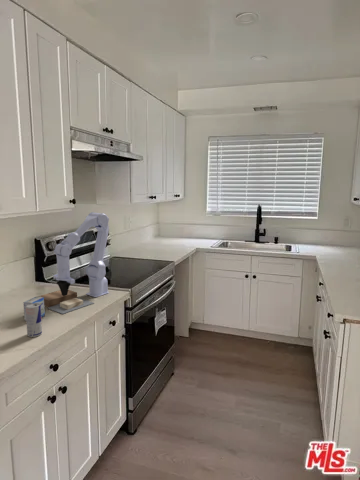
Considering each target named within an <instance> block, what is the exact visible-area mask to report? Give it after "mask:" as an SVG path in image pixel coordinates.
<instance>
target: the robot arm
mask: <svg viewBox="0 0 360 480" xmlns="http://www.w3.org/2000/svg"><path fill="white" fill-rule="evenodd" d="M109 220H110V218H109V216H108V215H107V214H106V213H104V212H102V213H101V212H94V211H92V212H90V213H89V214H88V215H87V216H85V219H84V221H83V222H82V223H81V224H80V225H79V227H77V229H76V230H75V231H74V232H70V233H68V234H67V237H66V238H64V239H63V240H62V241H61V242H60V243H57V244H56V245H55V247H54V249H53V253H54V255H56V269H57V272H56V273H57V274H53V276H52V277H53V279H54V280H56V284H57V286H58V287H59V290H61V294H62V295H63V296H65V295H67V293H68V290H70V286H71V285H73V284H75V283H76V279H75V278H73V277H71V271H70V270H71V269H70V265H71V264H70V255H72V250H74V249H73V248H74V247H75V246H77V244H78V243H79V242H81V237H82V236H83V235H84V234H85V233H86V232H87V231H88V230H89V229H90V228H92V227H94V228H95V229H96V230H97V234H96V239H95V244H94V250H93V256H92V260H90V261H89V262H88V265H87V267H86V269H85V274H86V275H87V276H88V281H89V283H88V284H89V285H88V286H89V292H87V293H85V294H86V295H87V296H90V297H93V298H98V297H101V296H103V295H104V296H105V295H107V294H109V293H110V292H109V285H108V279H107V278H106V277H105V276H106V275H107V274H106V272H107V271H106V264H105V262H104V257H105V252H106V247H107V241H108V237H109V231H110V228H109V227H110V226H109Z"/></svg>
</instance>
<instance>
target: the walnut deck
mask: <svg viewBox="0 0 360 480" xmlns="http://www.w3.org/2000/svg"><path fill="white" fill-rule="evenodd" d="M36 297H43V298H44V307H46V308H48V307H51V306H54V305H57V304H60V302H64V301H67V300H70V299H73V298H78V291H74V290H72V289H68V293H67V295H65V296H63V295H62V294H61V290H60V289H59V290H56V291H52V292H48V293H44V294H42V295H38V296H36Z"/></svg>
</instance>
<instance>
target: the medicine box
mask: <svg viewBox="0 0 360 480" xmlns="http://www.w3.org/2000/svg"><path fill="white" fill-rule="evenodd" d="M32 303H38V304H40V306H41V318H43V317H45V314H46V312H45V311H46V310H45V306H44V298H43V297H37V296H35V297H32V298H30V299H28V300H25V301H23V303H22V304H23V313H24V315H23V316H24V321H25V322H26V306H27V305H28V304H32Z"/></svg>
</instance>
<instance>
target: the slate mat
mask: <svg viewBox="0 0 360 480" xmlns="http://www.w3.org/2000/svg"><path fill="white" fill-rule="evenodd" d="M77 298H78V299H81V300H83V305H80V306H77V307H74V308H71V309H65V308H62V307H60V304H57V305H54V306H51V307H47V309H48V310H50V311H52V312H56V313H58V314H60V315H65V314H68V313H71V312H74V311H77V310H79V309H82V308H83V309H84V308H85V307H88V306H90V305H93V304H95V302H92V301H90V300H88V299H84V298H81V297H77Z"/></svg>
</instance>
